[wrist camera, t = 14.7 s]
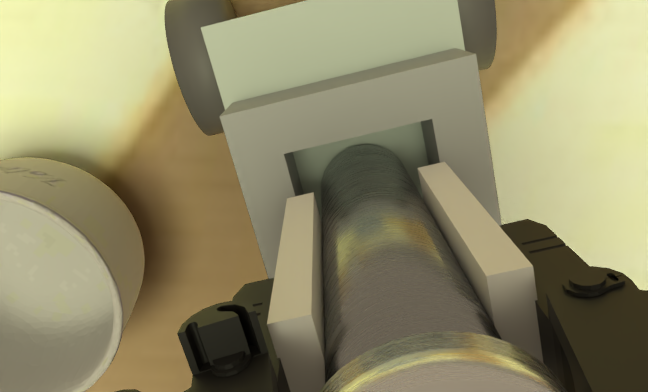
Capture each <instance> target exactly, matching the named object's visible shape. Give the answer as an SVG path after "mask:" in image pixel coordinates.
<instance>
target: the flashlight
mask: <svg viewBox="0 0 648 392" xmlns="http://www.w3.org/2000/svg"><path fill="white" fill-rule="evenodd" d="M321 213H322V255H323V300H324V345H325V385H324V386H323V387H322V388H321V390H320V391H319V392H567V390H566V389H565V387H564V386H563V384H562V383H561V382H560V380H559V379H558V378H557V377H556V376H555V374H554V373H553V372H552V371H551V370H550V369H549V368H548V367H547V366H546V365H544V364H543V363H542V362H541V361H540V360H539V359H537V358H536V357H534V356H533V355H531V354H530V353H528V352H527V351H525V350H523V349H521V348H519V347H517V346H515V345H513V344H511V343H509V342H506V341H503V340H502V339H501V337H500V335H499V333H498V332H497V330H496V328H495V326H494V325H493V323H492V321H491V319H490V317H489V316H488V314H487V312H486V310H485V309H484V307H483V305H482V303H481V301H480V300H479V298H478V296H477V294H476V293H475V291H474V289H473V287H472V285H471V284H470V282H469V280H468V278H467V277H466V275H465V273H464V271H463V269H462V268H461V266H460V264H459V262H458V261H457V259H456V257H455V255H454V253H453V252H452V250H451V248H450V246H449V245H448V243H447V241H446V239H445V237H444V236H443V234H442V232H441V230H440V229H439V227H438V225H437V223H436V222H435V220H434V218H433V216H432V214H431V213H430V211H429V209H428V207H427V206H426V204H425V202H424V200H423V198H422V197H421V195H420V193H419V191H418V190H417V188H416V186H415V184H414V182H413V181H412V179H411V177H410V175H409V174H408V172H407V170H406V168H405V167H404V165H403V163H402V162H401V161H400V159H399V158H398V157H397V156H396V155H395V154H393V153H392V152H390V151H389V150H387V149H385V148H382V147H380V146H375V145H357V146H353V147H350V148H348V149H346V150H344V151H342V152H340V153H339V154H338V155H336V156H335V157H334V158H333V159H332V160H331V161H330V163H329V164H328V166H327V167H326V169H325V171H324V174H323V177H322V181H321Z"/></svg>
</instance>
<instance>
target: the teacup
mask: <svg viewBox="0 0 648 392" xmlns="http://www.w3.org/2000/svg"><path fill="white" fill-rule="evenodd" d="M144 266H145V257H144V248H143V242H142V238H141V234H140V231H139V229H138V226H137V224H136V222H135V220H134V218H133V216H132V214H131V212H130V211H129V209H128V208H127V206H126V205H125V204H124V202H123V201H122V200H121V199H120V198H119V197H118V195H117V194H116V193H115V192H114V191H113V190H112V189H111V188H109V187H108V186H107V185H105V184H104V183H103V182H102V181H100V180H99V179H97V178H96V177H94V176H93V175H91V174H89V173H88V172H86V171H84V170H82V169H80V168H77V167H75V166H72V165H69V164H66V163H63V162H59V161H55V160H50V159H44V158H32V157H23V158H11V159H4V160H0V392H85V391H86V390H87V389H88V388H90V387H91V386H92V385H93V384H94V383H95V382H96V381H97V380H98V379H99V378H100V377H101V376H102V375H103V373H104V372H105V371H106V370H107V368H108V367H109V365H110V364H111V362H112V361H113V359H114V357H115V354H116V352H117V350H118V347H119V344H120V341H121V337H122V333H123V331H124V328H125V326H126V324H127V322H128V320H129V318H130V316H131V313H132V311H133V308H134V306H135V303H136V301H137V298H138V295H139V292H140V288H141V285H142V281H143V275H144Z"/></svg>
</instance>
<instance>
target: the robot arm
mask: <svg viewBox="0 0 648 392" xmlns="http://www.w3.org/2000/svg"><path fill="white" fill-rule="evenodd" d="M417 169H418V174H419V179H420V184H421V189H422V194H423V199H424V202H425V204H426V206H427V207H428V209H429V211H430V213H431V214H432V216H433V218H434V220H435V222H436V223H437V225H438V227H439V229H440V230H441V232H442V234H443V236H444V237H445V239H446V241H447V243H448V245H449V246H450V248H451V250H452V252H453V253H454V255H455V257H456V259H457V261H458V262H459V264H460V266H461V268H462V269H463V271H464V273H465V275H466V277H467V278H468V280H469V282H470V284H471V285H472V287H473V289H474V291H475V293H476V294H477V296H478V298H479V300H480V301H481V303H482V305H483V307H484V309H485V310H486V312H487V314H488V316H489V317H490V319H491V321H492V323H493V325H494V326H495V328H496V330H497V332H498V333H499V335H500V337H501V339H502V340H503V341H506V342H509V343H511V344H513V345H515V346H517V347H519V348H521V349H523V350H525V351H527V352H528V353H530V354H531V355H533V356H534V357H536V358H537V359H539V360H540V361H541V362H542V363H543V364H544V365H546V366H547V367H548V368H549V369H550V370H551V371H552V372H553V373H554V374H555V376H556V377H557V378H558V379H559V380H560V382H561V383H562V384H563V386H564V387H565V389H566V390H567V392H648V291H643V290H639V289H638V288H637V286H636V285H635V284H634V283H633V281H632V280H631V279H629V278H628V277H627V276H626V275H624V274H623V273H621V272H618V271H615V270H612V269H609V268H601V267H593V266H592V267H590V266H589V265H587V264H586V263H585V262H584V261H583V260H582V259H581V258H580V257H579V256H578V255H577V254H576V253H575V252H574V251H573V250H571V249H570V248H569V247H568V246H566V245H565V243H564V242H563V241H562V240H561V239H560V238H559V237H558V238H557V236H556V235H555V234H554V233H553V232H552V231H551V230H550V229H549V228H548V227H547V226H546V225H543V224H540V223H537V222H534V221H531V220H529V219H526V220H522V221H517V222H513V223H508V224H504V225H498V224H497V223H496V222H495V220H494V219H493V218H492V217H491V216H490V214H489V213H488V212H487V211H486V210H485V209H484V207H483V206H482V205H481V204H480V203H479V201H478V200H477V199H476V198H475V197H474V196H473V194H472V193H471V192H470V191H469V190H468V189H467V187H466V186H465V185H464V184H463V183H462V181H461V180H460V179H459V178H458V177H457V176H456V174H455V173H454V172H453V171H452V170H451V168H450V167H449V166H448V165H447V164H446V163H445V162H441V163H437V164H432V165H428V166H424V167H420V168H417ZM178 336H179V339H180V342H181V345H182V347H183V350H184V353H185V355H186V358H187V361H188V363H189V366H190V369H191V371H192V374H193V378H192V387H191V388H189V389H188V390H186V391H184V392H319V391H320V390H321V388H322V387H323V386H324V385H325V345H324V300H323V255H322V223H321V219H320V215H319V211H318V207H317V203H316V199H315V196H314V192H312V193H308V194H304V195H299V196H295V197H291V198H287V202H286V208H285V214H284V221H283V227H282V233H281V239H280V246H279V252H278V258H277V264H276V270H275V277H274V278H271V279H266V280H262V281H257V282H253V283H248V284H245V285H244V286H243V287H242V288H241V289H240V290H239V292H238V293H237V294H236V295H235V296H234V297H233V300H232V301H229V302H224V303H219V304H216V305H213V306H210V307H208V308H205V309H203V310H201V311H200V312H198V313H196V314H194V315H193V316H191V317H190V318H189V319H188V320H187V321H186V322H185V323H183V324H182V326H181V328H180V330H179V332H178ZM116 392H140V391H138V390H136V389H131V390H120V391H116Z"/></svg>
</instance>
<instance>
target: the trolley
mask: <svg viewBox="0 0 648 392" xmlns="http://www.w3.org/2000/svg"><path fill="white" fill-rule="evenodd" d="M165 30H166V37H167V42H168V48H169V52H170V56H171V60H172V64H173V68H174V71H175V74H176V78H177V81H178V84H179V87H180V89H181V92H182V95H183V97H184V100H185V102H186V104H187V106H188V109H189V111H190V113H191V115H192V117H193V118H194V120H195V122H196V123H197V125H198V126H199V128H200V129H201V130H202V131H203V132H204V133H205V134H206V135H209V136H210V135H215V134H219V133H223V132H224V133H225V136H226V140H227V143H228V146H229V149H230V153H231V156H232V159H233V163H234V166H235V169H236V173H237V176H238V179H239V183H240V186H241V189H242V192H243V196H244V199H245V202H246V206H247V209H248V212H249V216H250V219H251V222H252V226H253V229H254V232H255V235H256V239H257V242H258V245H259V249H260V252H261V255H262V259H263V262H264V265H265V269H266V272H267V275H268V278H269V279H271V278H274V277H275V270H276V264H277V258H278V252H279V246H280V239H281V233H282V227H283V221H284V214H285V208H286V202H287V198H291V197H295V196H299V195H304V194H308V193H312V192H314V196H315V199H316V203H317V207H318V211H319V215H320V219H321V223H322V213H321V181H322V177H323V174H324V171H325V169H326V167H327V166H328V164H329V163H330V161H331V160H332V159H333V158H334V157H335V156H336V155H338V154H339V153H340V152H342V151H344V150H346V149H348V148H350V147H353V146H357V145H375V146H380V147H382V148H385V149H387V150H389V151H390V152H392V153H393V154H395V155H396V156H397V157H398V158H399V159H400V161H401V162H402V163H403V165H404V167H405V168H406V170H407V172H408V174H409V175H410V177H411V179H412V181H413V182H414V184H415V186H416V188H417V190H418V191H419V193H420V195H421V197H422V198H423V194H422V189H421V184H420V179H419V174H418V169H417V168H420V167H424V166H428V165H432V164H437V163H441V162H445V163H446V164H447V165H448V166H449V167H450V168H451V170H452V171H453V172H454V173H455V174H456V176H457V177H458V178H459V179H460V180H461V181H462V183H463V184H464V185H465V186H466V187H467V189H468V190H469V191H470V192H471V193H472V194H473V196H474V197H475V198H476V199H477V200H478V201H479V203H480V204H481V205H482V206H483V207H484V209H485V210H486V211H487V212H488V213H489V214H490V216H491V217H492V218H493V219H494V220H495V222H496V223H497V224H498V225H502V224H501V217H500V211H499V204H498V197H497V191H496V184H495V177H494V171H493V164H492V157H491V151H490V144H489V137H488V131H487V124H486V117H485V111H484V104H483V97H482V91H481V84H480V77H479V70H483V69H487V68H489V67H490V66H491V64H492V62H493V59H494V55H495V49H496V31H497V28H496V10H495V1H494V0H306V1H302V2H298V3H294V4H291V5H287V6H283V7H279V8H275V9H271V10H267V11H263V12H259V13H255V14H251V15H247V16H244V17H240V18H237V16H236V13H235V11H234V8H233V6H232V4H231V2H230V0H169V1H168V2H167V4H166V7H165ZM423 200H424V199H423Z"/></svg>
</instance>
